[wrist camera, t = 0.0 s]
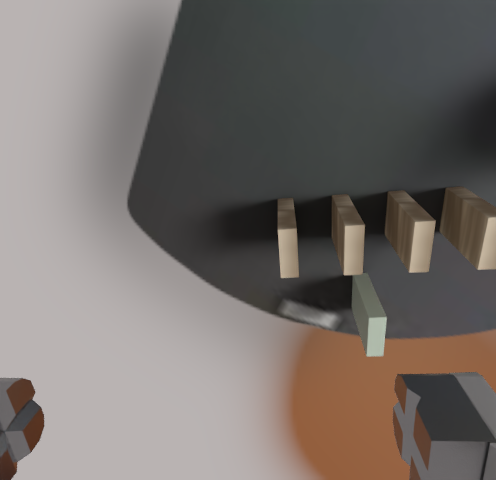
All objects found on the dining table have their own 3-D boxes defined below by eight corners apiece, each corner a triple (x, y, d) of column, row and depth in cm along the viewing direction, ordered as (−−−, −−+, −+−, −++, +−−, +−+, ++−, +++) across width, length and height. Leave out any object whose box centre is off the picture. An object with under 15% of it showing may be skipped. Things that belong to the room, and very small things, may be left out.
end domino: (351, 307, 53) (366, 356, 44) (352, 273, 50) (369, 317, 41) (365, 307, 53) (383, 356, 44) (367, 272, 50) (386, 317, 41)
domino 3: (384, 234, 47) (409, 272, 38) (387, 191, 45) (415, 222, 36) (399, 233, 47) (428, 271, 38) (404, 190, 45) (435, 220, 36)
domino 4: (439, 231, 47) (477, 269, 38) (445, 187, 44) (488, 217, 35) (455, 230, 46) (497, 268, 37) (462, 186, 44) (510, 216, 35)
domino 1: (280, 239, 49) (280, 277, 40) (277, 198, 46) (277, 229, 37) (294, 238, 49) (298, 277, 40) (293, 197, 46) (296, 228, 37)
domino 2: (331, 237, 48) (343, 275, 39) (331, 195, 46) (345, 225, 37) (346, 236, 48) (362, 274, 39) (347, 194, 45) (364, 224, 36)
